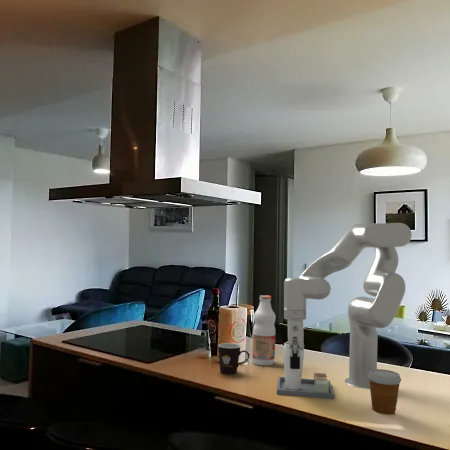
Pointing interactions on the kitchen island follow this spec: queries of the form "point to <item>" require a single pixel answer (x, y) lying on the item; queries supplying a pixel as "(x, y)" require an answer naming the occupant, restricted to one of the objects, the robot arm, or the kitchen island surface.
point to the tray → (303, 389)
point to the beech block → (320, 378)
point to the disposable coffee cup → (384, 390)
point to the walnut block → (318, 376)
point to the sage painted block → (322, 386)
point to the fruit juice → (264, 333)
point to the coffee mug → (229, 357)
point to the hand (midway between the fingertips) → (294, 364)
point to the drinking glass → (292, 375)
